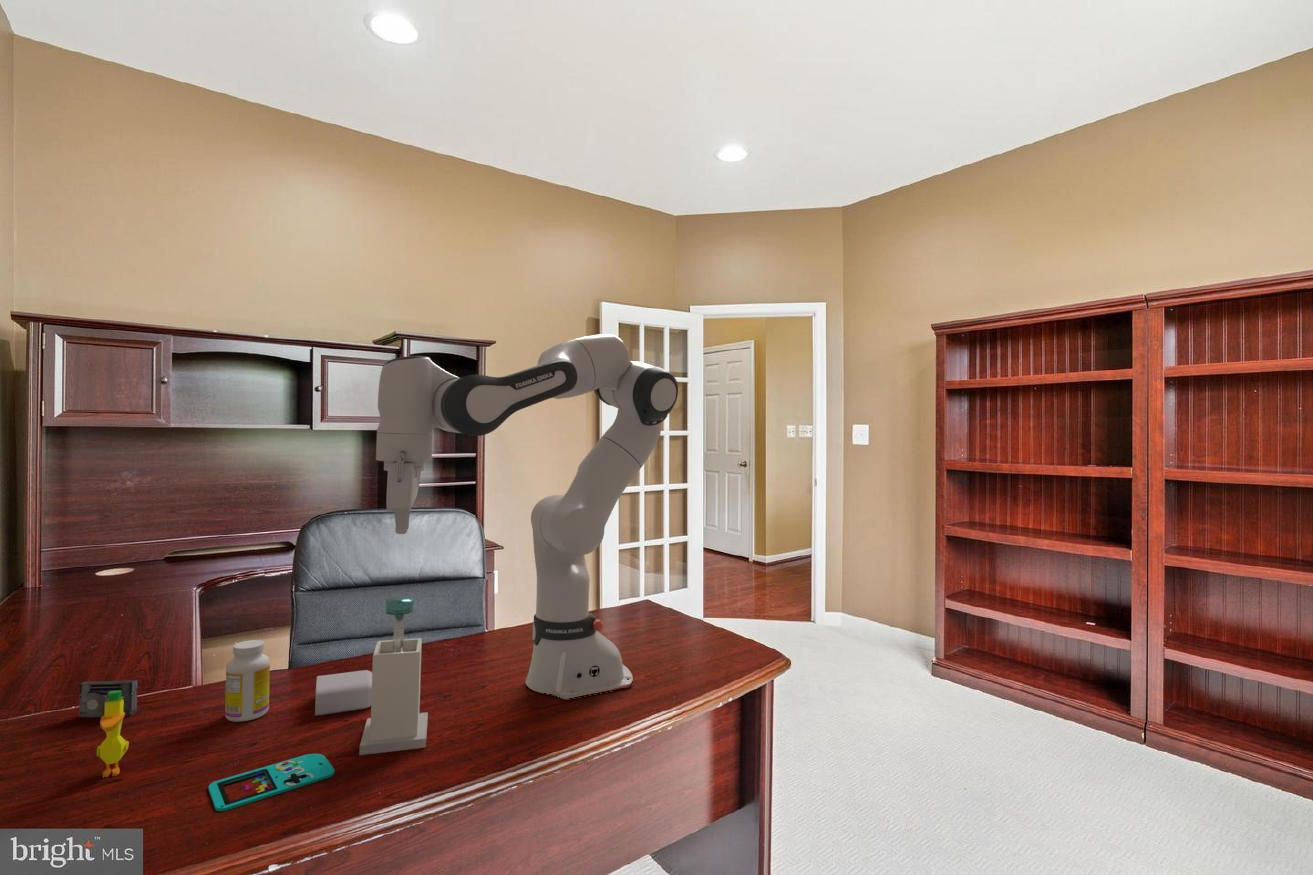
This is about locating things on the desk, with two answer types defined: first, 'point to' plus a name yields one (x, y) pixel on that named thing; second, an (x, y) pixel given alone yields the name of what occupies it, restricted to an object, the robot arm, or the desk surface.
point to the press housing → (395, 700)
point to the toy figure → (112, 733)
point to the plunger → (399, 618)
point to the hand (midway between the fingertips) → (402, 531)
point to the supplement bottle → (247, 682)
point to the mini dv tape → (106, 697)
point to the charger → (343, 692)
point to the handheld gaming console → (274, 779)
